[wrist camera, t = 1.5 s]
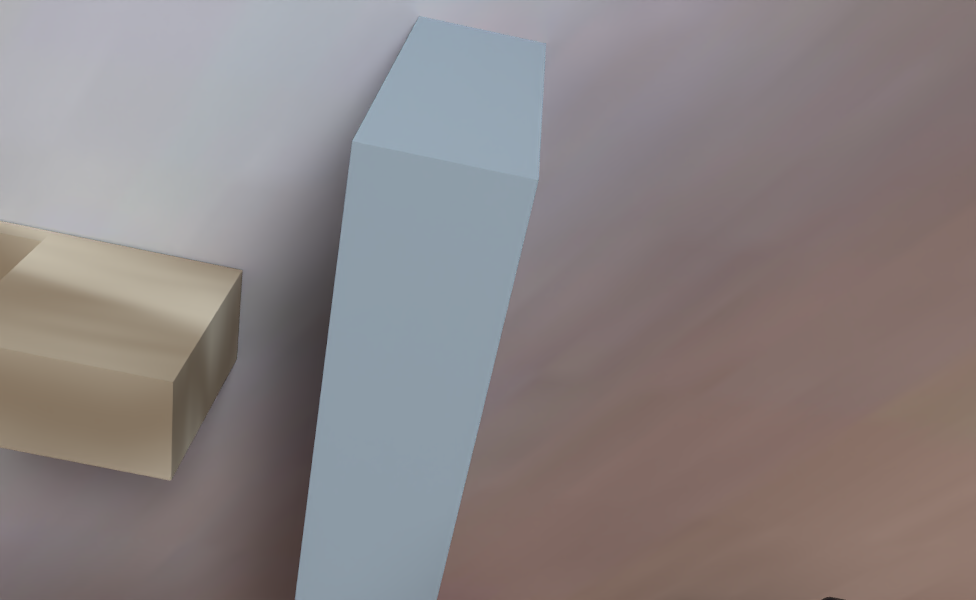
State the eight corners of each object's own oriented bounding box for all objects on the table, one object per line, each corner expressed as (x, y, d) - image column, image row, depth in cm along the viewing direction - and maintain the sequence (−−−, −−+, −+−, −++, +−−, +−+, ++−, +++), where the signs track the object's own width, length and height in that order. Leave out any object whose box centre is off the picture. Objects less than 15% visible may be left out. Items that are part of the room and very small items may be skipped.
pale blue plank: (446, 478, 25) (409, 711, 19) (351, 460, 25) (284, 688, 19) (545, 42, 19) (538, 179, 13) (419, 14, 19) (352, 141, 13)
